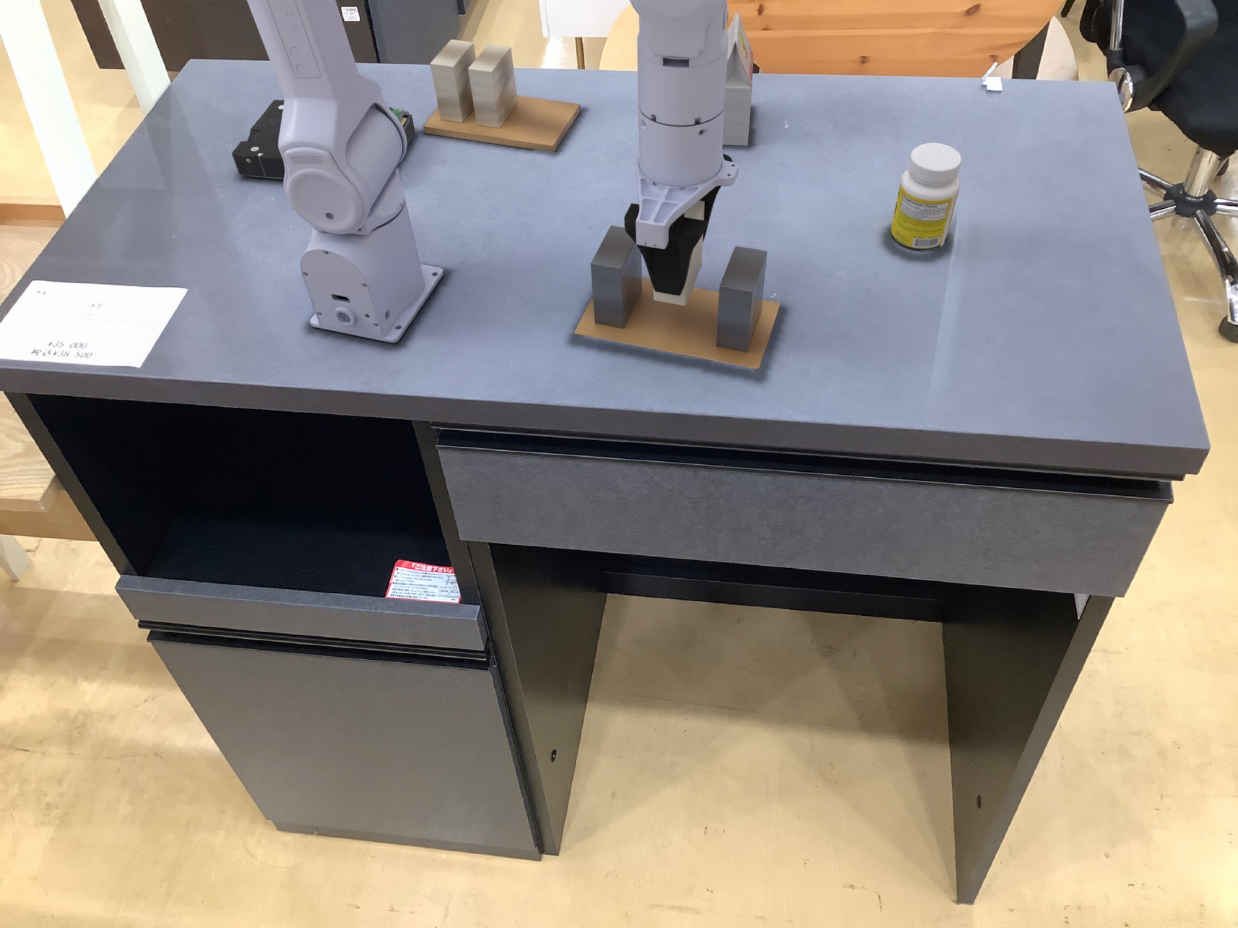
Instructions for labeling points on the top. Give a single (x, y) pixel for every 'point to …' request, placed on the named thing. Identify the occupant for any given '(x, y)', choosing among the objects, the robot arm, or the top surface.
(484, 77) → the cream rack
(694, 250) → the beige block
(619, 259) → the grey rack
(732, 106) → the gable top juice carton
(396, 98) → the top surface
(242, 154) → the disk drive
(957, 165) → the supplement bottle
